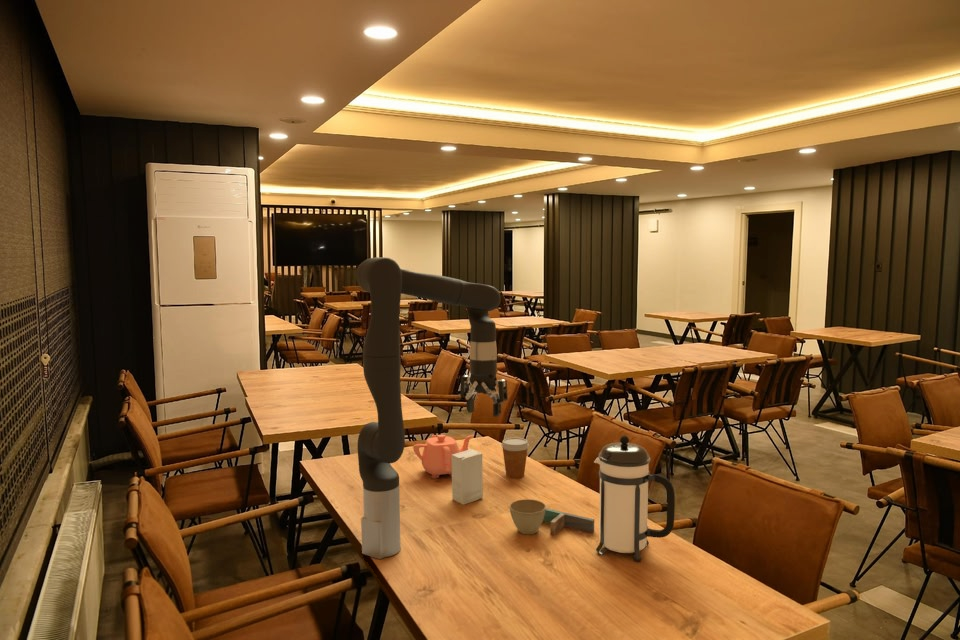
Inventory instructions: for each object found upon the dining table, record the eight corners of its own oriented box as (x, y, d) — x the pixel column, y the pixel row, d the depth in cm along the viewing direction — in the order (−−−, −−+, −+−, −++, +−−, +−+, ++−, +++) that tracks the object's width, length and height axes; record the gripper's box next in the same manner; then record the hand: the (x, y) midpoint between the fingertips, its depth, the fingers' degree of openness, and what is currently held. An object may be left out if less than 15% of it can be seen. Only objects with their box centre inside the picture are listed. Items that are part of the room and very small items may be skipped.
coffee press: (611, 568, 154) (613, 448, 151) (583, 540, 169) (584, 430, 166) (675, 559, 159) (678, 441, 155) (642, 532, 174) (644, 425, 171)
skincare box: (472, 493, 203) (471, 448, 202) (484, 498, 199) (483, 452, 197) (450, 500, 198) (450, 453, 197) (462, 505, 193) (462, 458, 192)
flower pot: (524, 520, 183) (524, 496, 182) (553, 530, 176) (553, 505, 175) (502, 531, 175) (502, 506, 175) (530, 542, 169) (530, 516, 168)
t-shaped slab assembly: (583, 542, 168) (583, 529, 168) (523, 527, 178) (523, 515, 177) (594, 531, 175) (594, 519, 174) (535, 517, 184) (535, 505, 184)
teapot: (433, 462, 234) (432, 426, 232) (474, 469, 227) (474, 432, 225) (410, 476, 219) (410, 438, 218) (454, 484, 212) (454, 444, 211)
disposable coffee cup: (496, 472, 222) (496, 439, 221) (520, 468, 226) (520, 435, 225) (509, 481, 214) (509, 446, 213) (534, 477, 218) (534, 442, 217)
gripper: (454, 356, 177) (455, 413, 179) (497, 361, 170) (498, 420, 171) (469, 353, 184) (470, 408, 185) (512, 357, 176) (512, 414, 177)
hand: (483, 414), depth 178 cm, fingers open, 8 cm apart
